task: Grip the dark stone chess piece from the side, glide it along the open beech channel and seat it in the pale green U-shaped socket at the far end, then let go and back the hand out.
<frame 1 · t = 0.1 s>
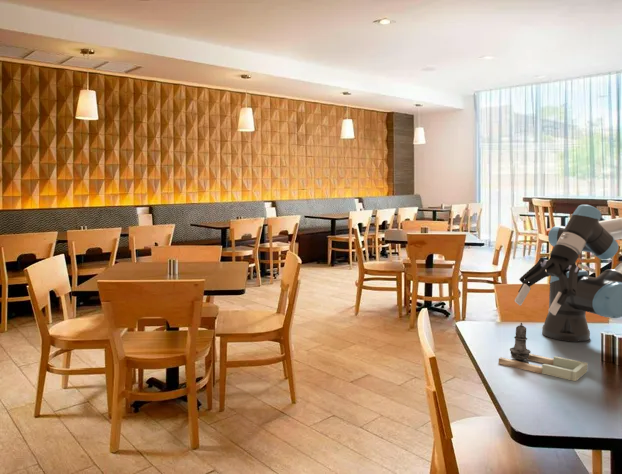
hand: (533, 308, 167), 15 cm above the table, tool tilted 35°, fingers open, 13 cm apart
socket: (561, 371, 155), on the table
dark stone chess piece: (519, 362, 163), on the table
channel: (519, 362, 163), on the table
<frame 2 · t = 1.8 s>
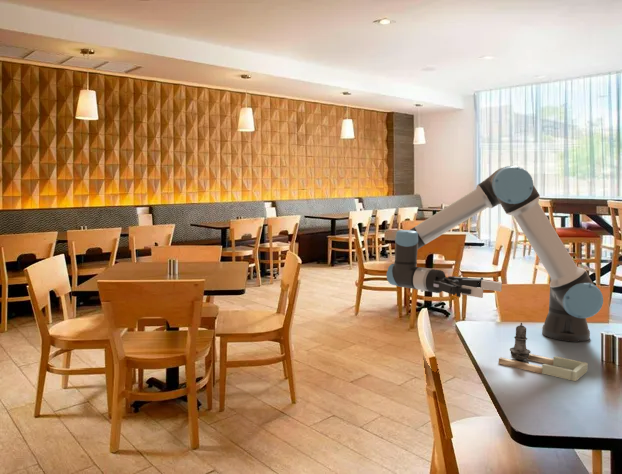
hand: (492, 290, 167), 20 cm above the table, tool horizontal, fingers open, 13 cm apart
nothing on the table moved.
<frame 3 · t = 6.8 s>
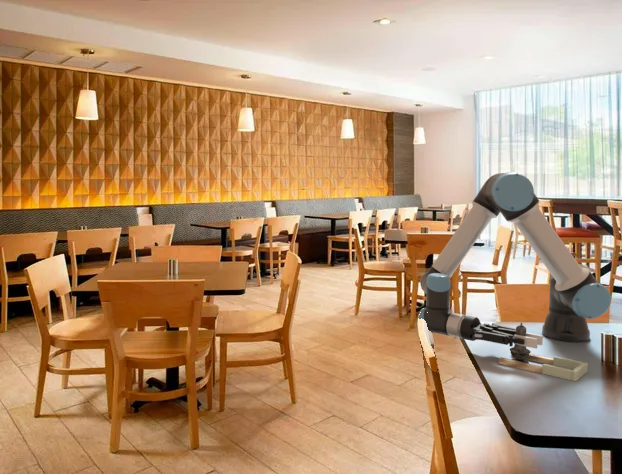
hand: (539, 342, 159), 7 cm above the table, tool horizontal, fingers closed on dark stone chess piece, 4 cm apart
dark stone chess piece: (519, 362, 163), on the table, touching gripper
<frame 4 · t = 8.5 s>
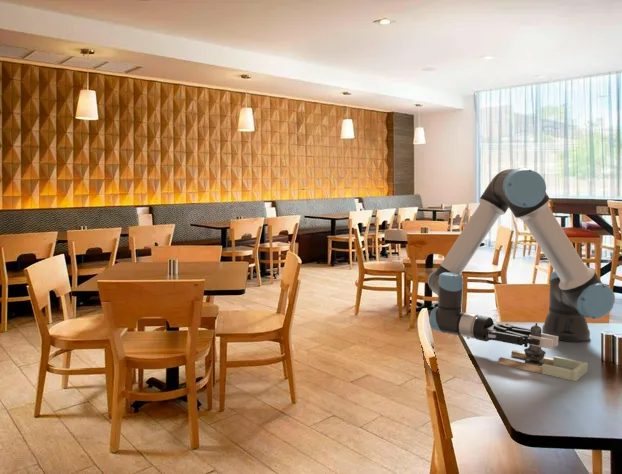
hand: (554, 342, 155), 8 cm above the table, tool horizontal, fingers closed on dark stone chess piece, 4 cm apart
dark stone chess piece: (534, 363, 160), point 1 cm above the table, touching gripper
when the fingers open (7 cm above the table, at t = 10.4 s): dark stone chess piece stays where it is, on the table.
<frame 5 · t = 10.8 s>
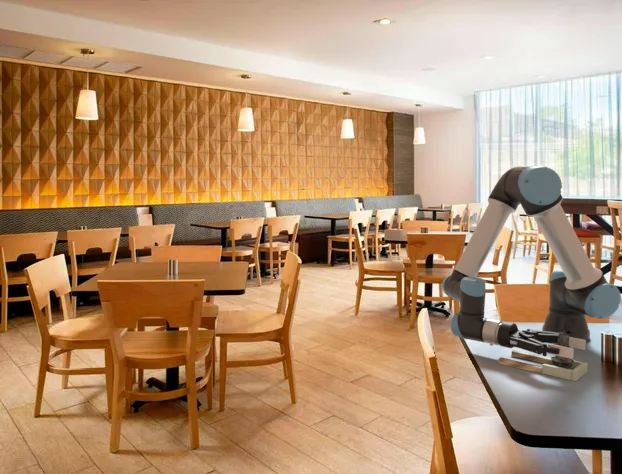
hand: (579, 349, 152), 7 cm above the table, tool horizontal, fingers open, 10 cm apart
dark stone chess piece: (561, 372, 155), on the table
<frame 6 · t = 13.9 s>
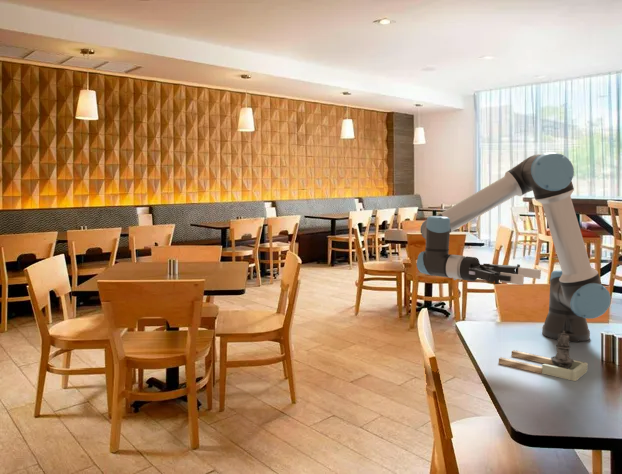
hand: (532, 277, 159), 26 cm above the table, tool horizontal, fingers open, 13 cm apart
nothing on the table moved.
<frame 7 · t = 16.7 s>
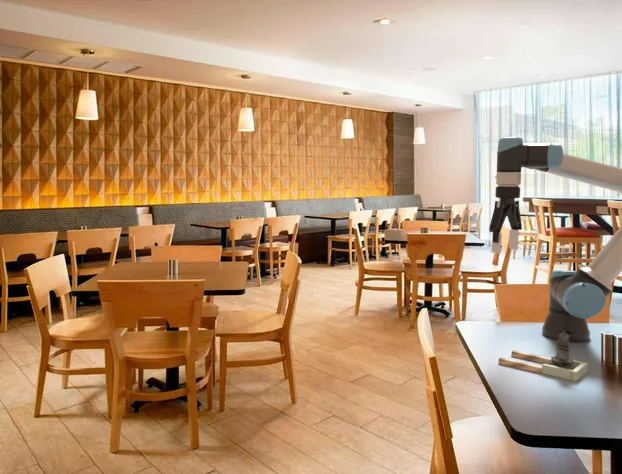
hand: (504, 251, 180), 31 cm above the table, tool pointing down, fingers open, 13 cm apart
nothing on the table moved.
at the end: dark stone chess piece 0.0 cm from the socket (horizontally); dark stone chess piece tilted 0°; the gripper is holding nothing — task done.
